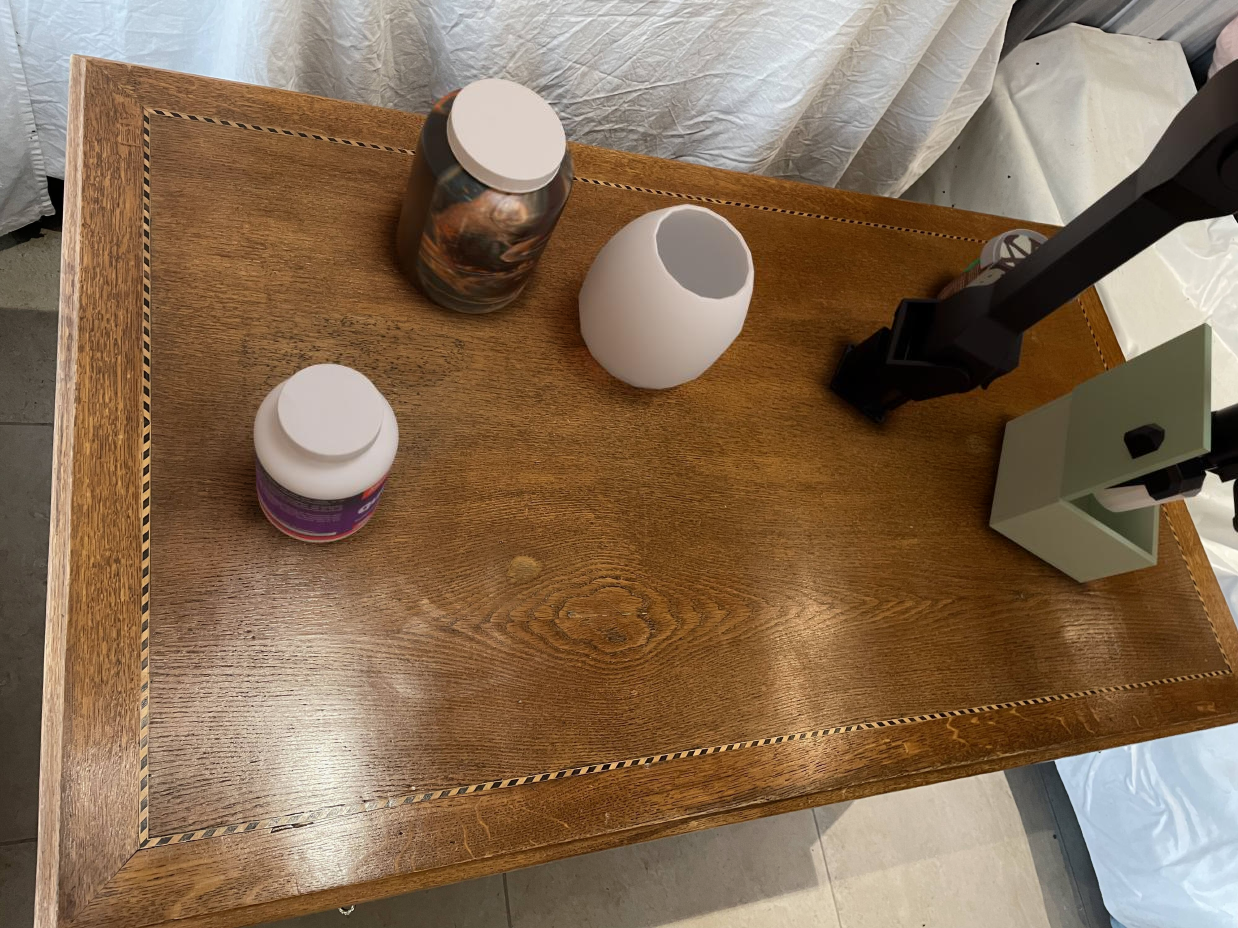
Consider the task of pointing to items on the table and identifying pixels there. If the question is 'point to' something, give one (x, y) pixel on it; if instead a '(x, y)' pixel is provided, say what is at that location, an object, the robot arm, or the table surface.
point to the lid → (1140, 414)
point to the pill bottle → (323, 452)
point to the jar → (483, 195)
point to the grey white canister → (1133, 498)
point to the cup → (666, 296)
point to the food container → (997, 260)
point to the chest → (1064, 504)
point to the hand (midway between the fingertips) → (1121, 479)
